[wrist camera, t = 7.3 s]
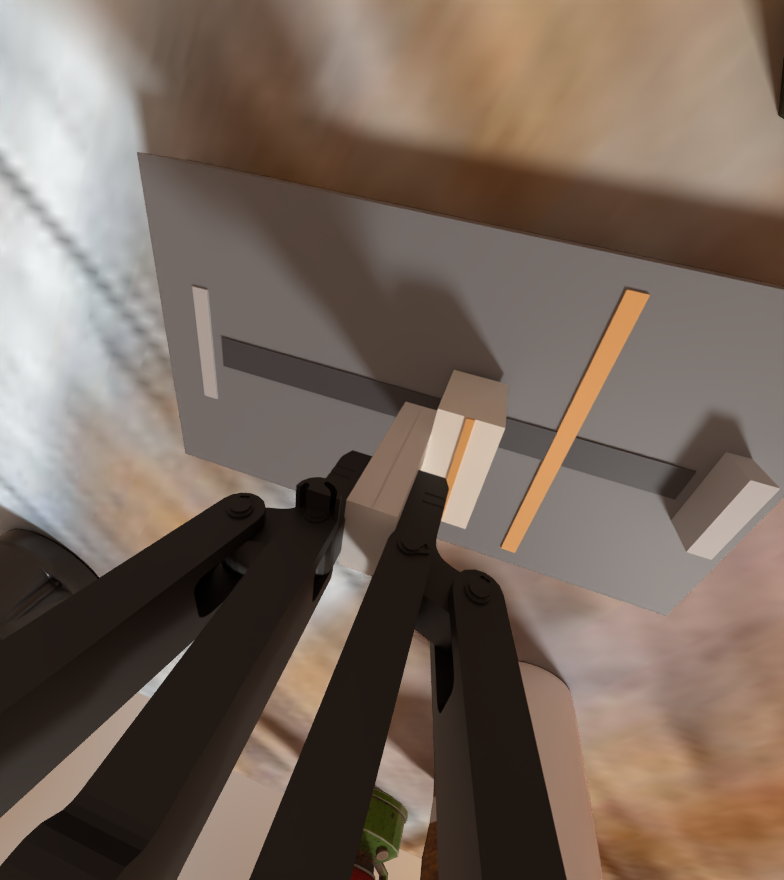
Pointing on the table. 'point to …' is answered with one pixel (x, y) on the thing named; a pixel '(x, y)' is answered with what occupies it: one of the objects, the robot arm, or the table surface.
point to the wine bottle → (782, 96)
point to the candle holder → (563, 771)
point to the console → (477, 369)
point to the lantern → (379, 836)
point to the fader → (466, 440)
